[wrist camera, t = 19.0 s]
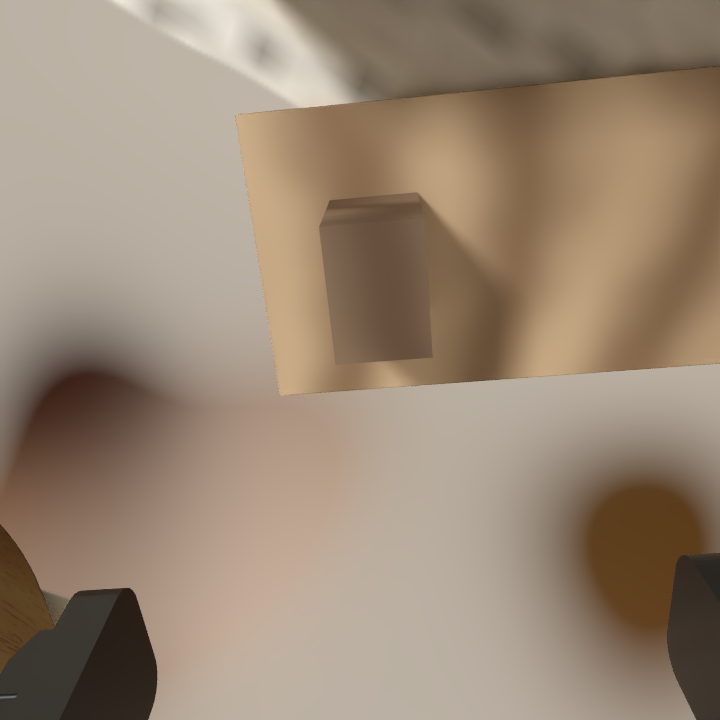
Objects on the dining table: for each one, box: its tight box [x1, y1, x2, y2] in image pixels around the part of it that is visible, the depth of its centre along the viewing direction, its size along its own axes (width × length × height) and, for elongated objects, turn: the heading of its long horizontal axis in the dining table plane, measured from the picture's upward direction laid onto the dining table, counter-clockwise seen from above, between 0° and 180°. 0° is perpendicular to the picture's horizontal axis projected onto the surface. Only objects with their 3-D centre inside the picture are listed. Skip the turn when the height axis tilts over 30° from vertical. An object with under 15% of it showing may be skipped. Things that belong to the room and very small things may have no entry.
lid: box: [235, 66, 720, 395], centre depth 25 cm, size 20×12×6 cm, turn 95°
